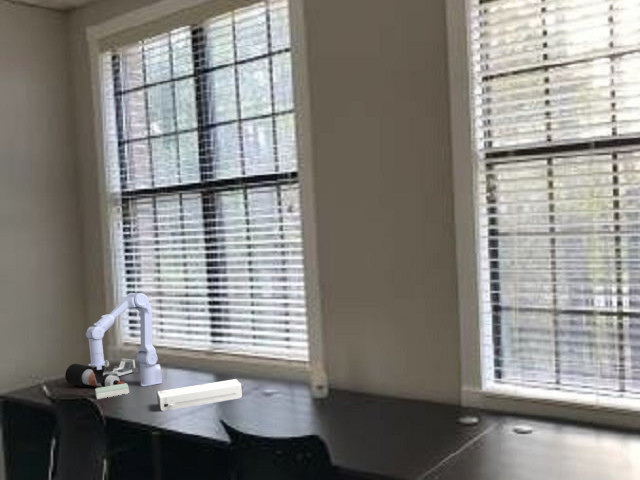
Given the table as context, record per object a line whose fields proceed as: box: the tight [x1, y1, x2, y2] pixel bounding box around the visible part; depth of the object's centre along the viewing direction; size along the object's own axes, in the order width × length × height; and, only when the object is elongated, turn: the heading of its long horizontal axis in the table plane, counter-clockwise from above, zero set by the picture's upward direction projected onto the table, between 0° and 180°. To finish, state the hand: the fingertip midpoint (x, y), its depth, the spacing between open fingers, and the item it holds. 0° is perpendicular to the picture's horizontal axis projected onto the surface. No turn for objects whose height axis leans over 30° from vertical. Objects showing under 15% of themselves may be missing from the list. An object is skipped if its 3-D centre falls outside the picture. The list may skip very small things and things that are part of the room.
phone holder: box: [102, 358, 139, 377], centre depth 360 cm, size 18×10×12 cm
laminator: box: [156, 378, 244, 412], centre depth 293 cm, size 34×12×6 cm, turn 108°
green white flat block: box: [94, 388, 130, 400], centre depth 318 cm, size 14×7×2 cm, turn 112°
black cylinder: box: [64, 363, 125, 388], centre depth 337 cm, size 10×34×10 cm, turn 58°
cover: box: [94, 382, 130, 395], centre depth 318 cm, size 14×7×1 cm, turn 112°
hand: (99, 382), depth 316 cm, fingers closed
